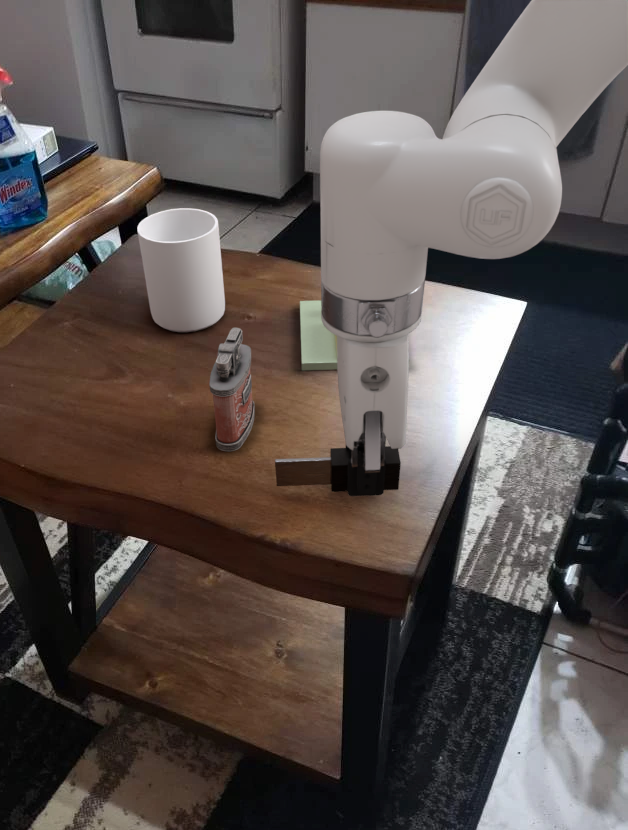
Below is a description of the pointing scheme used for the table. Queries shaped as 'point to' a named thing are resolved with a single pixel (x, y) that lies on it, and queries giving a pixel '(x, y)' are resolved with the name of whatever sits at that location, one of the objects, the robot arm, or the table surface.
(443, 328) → the table surface
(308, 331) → the butter plate
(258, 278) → the table surface
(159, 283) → the mug
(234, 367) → the lighter
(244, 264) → the table surface
